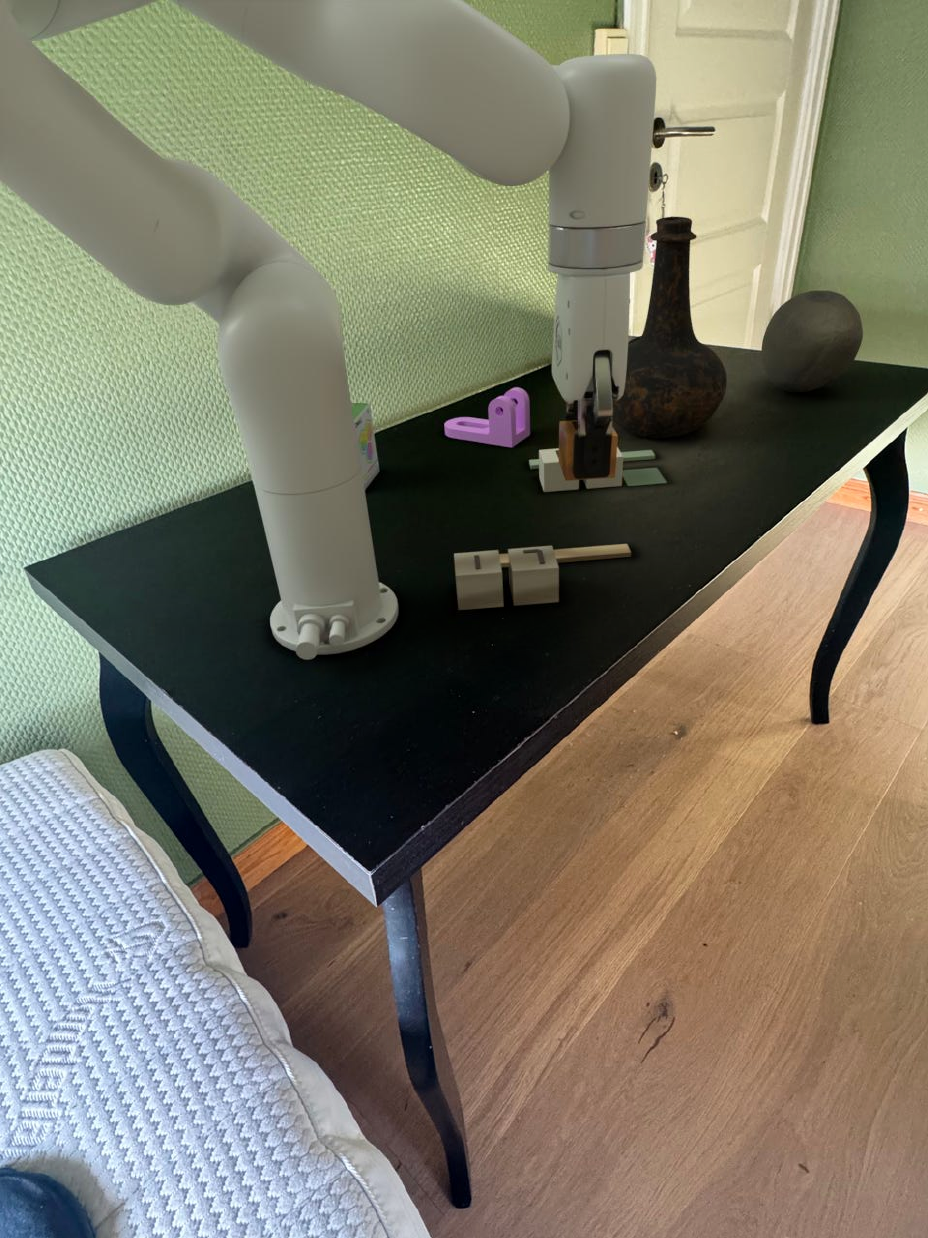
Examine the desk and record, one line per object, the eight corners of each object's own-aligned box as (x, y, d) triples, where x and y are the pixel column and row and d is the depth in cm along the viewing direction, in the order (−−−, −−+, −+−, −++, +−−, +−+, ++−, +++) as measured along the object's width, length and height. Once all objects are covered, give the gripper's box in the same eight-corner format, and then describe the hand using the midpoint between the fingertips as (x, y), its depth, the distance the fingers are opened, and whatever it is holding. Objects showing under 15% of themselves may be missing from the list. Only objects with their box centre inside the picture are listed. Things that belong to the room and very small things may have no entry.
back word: (670, 482, 97) (673, 452, 95) (538, 493, 97) (537, 463, 95) (651, 453, 105) (653, 424, 103) (529, 463, 105) (528, 435, 103)
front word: (648, 594, 76) (651, 558, 73) (458, 610, 76) (455, 574, 73) (626, 548, 84) (628, 514, 82) (455, 562, 84) (452, 529, 82)
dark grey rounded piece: (751, 402, 120) (765, 301, 111) (759, 376, 130) (773, 282, 122) (850, 408, 115) (873, 303, 106) (849, 380, 125) (870, 282, 117)
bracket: (530, 434, 115) (529, 388, 111) (512, 447, 111) (510, 400, 107) (457, 423, 121) (454, 379, 117) (438, 435, 117) (434, 390, 113)
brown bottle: (679, 401, 123) (696, 204, 107) (747, 436, 108) (778, 215, 93) (577, 420, 119) (581, 218, 103) (634, 459, 104) (648, 232, 89)
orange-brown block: (615, 477, 69) (618, 433, 67) (565, 480, 69) (566, 437, 67) (605, 459, 73) (607, 417, 70) (558, 461, 73) (559, 419, 70)
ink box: (365, 492, 101) (350, 392, 94) (337, 492, 102) (319, 392, 94) (380, 471, 107) (367, 375, 99) (353, 471, 107) (338, 375, 100)
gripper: (535, 236, 67) (534, 436, 77) (564, 268, 53) (558, 507, 63) (620, 232, 67) (608, 431, 78) (671, 262, 53) (648, 501, 63)
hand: (586, 463), depth 70 cm, fingers closed on orange-brown block, 4 cm apart
